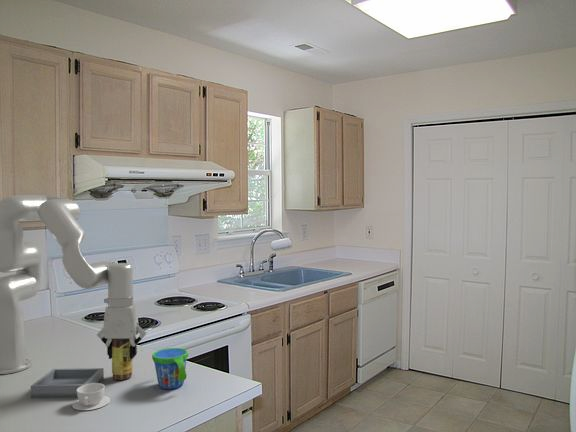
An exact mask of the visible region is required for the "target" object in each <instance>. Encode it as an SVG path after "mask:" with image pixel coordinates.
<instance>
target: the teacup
mask: <svg viewBox="0 0 576 432" xmlns="http://www.w3.org/2000/svg"><path fill="white" fill-rule="evenodd" d="M105 389H106V386H105V384H103V383H101V382H100V383H91V384H86V385H83V386H81V387H79V388H78V389H77V396H78V397H77V400H76V401H74V402H73V403H72V405H71V407H72V408H73V409H75V410H77V411H93V410H97V409H101V408H103V407H104V406H107V405H108V404H109V403H110V401H111V399H110V397H109V396H106V395H105Z"/></svg>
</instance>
